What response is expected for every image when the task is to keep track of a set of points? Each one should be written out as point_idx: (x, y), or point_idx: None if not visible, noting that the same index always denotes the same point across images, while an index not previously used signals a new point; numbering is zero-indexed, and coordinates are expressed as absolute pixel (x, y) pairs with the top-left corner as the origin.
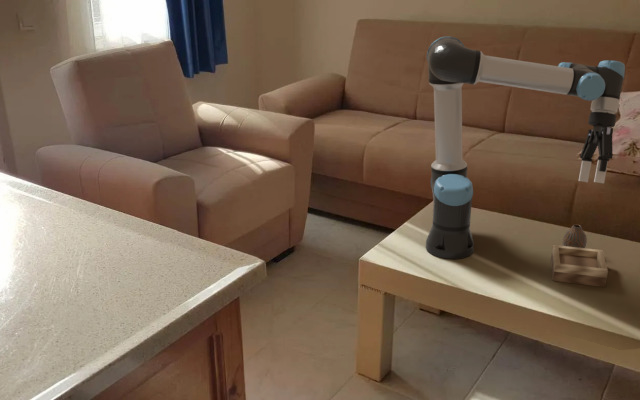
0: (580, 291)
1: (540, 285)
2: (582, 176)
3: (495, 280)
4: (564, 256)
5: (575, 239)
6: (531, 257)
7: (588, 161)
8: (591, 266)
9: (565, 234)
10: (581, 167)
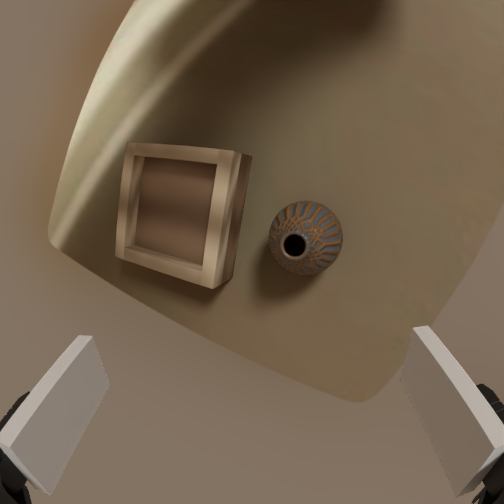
0: None
1: (135, 121)
2: (424, 365)
3: (152, 42)
4: (209, 181)
5: (270, 230)
6: (260, 107)
7: (469, 482)
8: (165, 237)
9: (304, 205)
10: (467, 396)
